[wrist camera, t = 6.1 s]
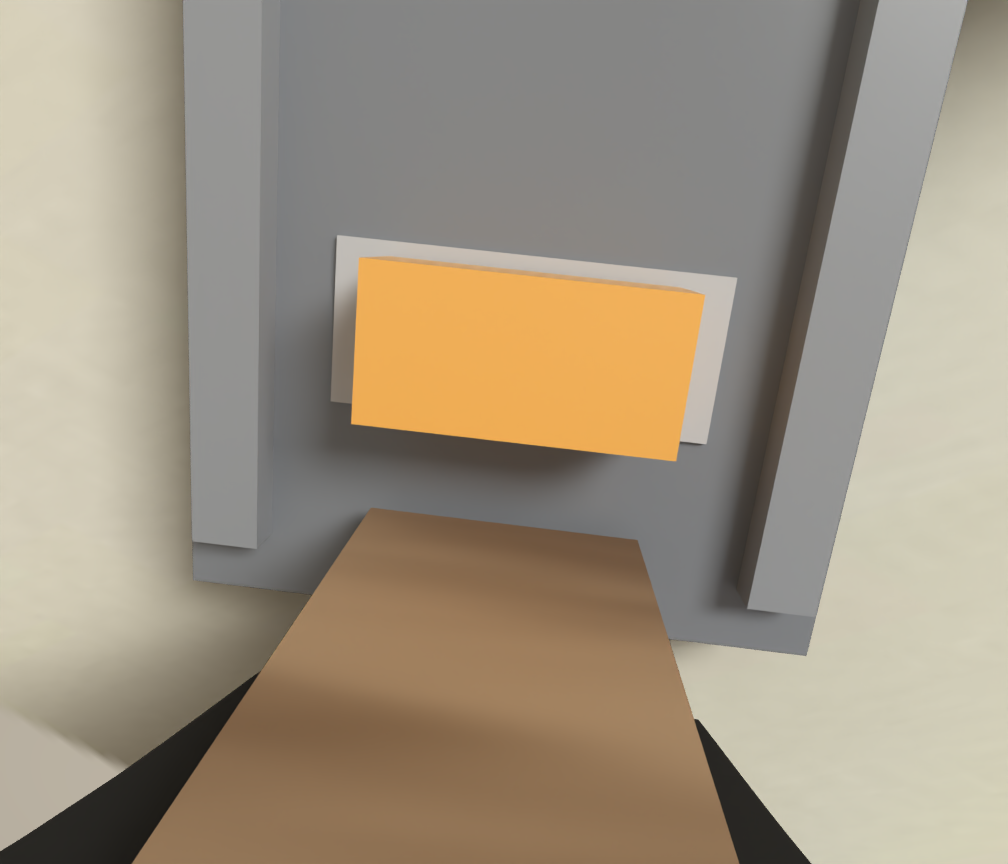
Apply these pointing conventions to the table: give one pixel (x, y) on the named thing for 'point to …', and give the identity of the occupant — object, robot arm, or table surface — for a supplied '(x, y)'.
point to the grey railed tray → (555, 264)
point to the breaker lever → (523, 356)
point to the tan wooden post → (460, 715)
